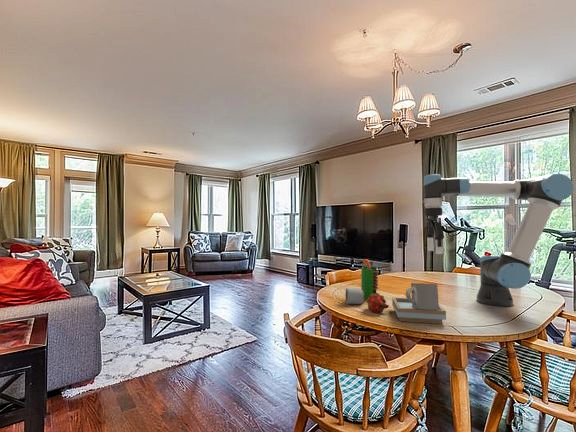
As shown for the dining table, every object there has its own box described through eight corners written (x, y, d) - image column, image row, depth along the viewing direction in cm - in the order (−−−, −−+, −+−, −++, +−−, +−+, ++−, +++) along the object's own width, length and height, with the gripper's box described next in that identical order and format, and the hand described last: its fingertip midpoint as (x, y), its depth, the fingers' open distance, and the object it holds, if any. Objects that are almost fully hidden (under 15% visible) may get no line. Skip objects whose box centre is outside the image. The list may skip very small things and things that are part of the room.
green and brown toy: (379, 300, 159) (379, 261, 159) (361, 299, 161) (361, 260, 161) (377, 295, 169) (377, 258, 169) (360, 294, 171) (360, 258, 171)
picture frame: (434, 311, 140) (434, 299, 140) (446, 325, 123) (446, 310, 123) (392, 309, 144) (392, 297, 144) (397, 322, 126) (397, 308, 126)
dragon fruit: (373, 310, 148) (382, 322, 136) (359, 300, 147) (367, 311, 135) (384, 296, 148) (394, 306, 136) (370, 286, 146) (379, 296, 135)
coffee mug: (430, 308, 133) (429, 283, 135) (443, 310, 123) (442, 284, 125) (400, 307, 132) (399, 282, 134) (410, 309, 122) (409, 282, 124)
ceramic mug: (364, 305, 150) (364, 289, 150) (347, 305, 150) (347, 289, 150) (359, 300, 160) (359, 285, 161) (343, 300, 160) (343, 285, 161)
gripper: (418, 208, 161) (419, 249, 160) (432, 206, 136) (434, 255, 136) (433, 208, 159) (435, 249, 159) (450, 206, 135) (452, 255, 134)
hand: (434, 252), depth 147 cm, fingers open, 13 cm apart
